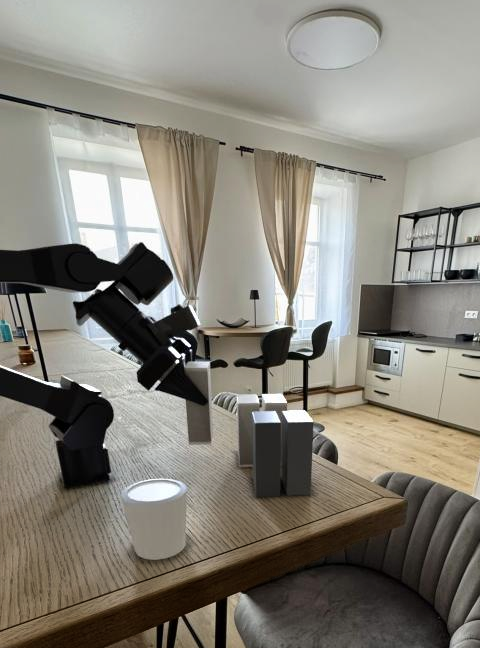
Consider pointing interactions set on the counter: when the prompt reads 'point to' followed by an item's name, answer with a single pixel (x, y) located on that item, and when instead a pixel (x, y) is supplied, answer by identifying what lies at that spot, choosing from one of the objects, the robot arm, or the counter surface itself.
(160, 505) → the white cup
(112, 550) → the counter surface
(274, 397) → the white book
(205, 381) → the tall cream square pillar
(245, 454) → the grey tall rectangular block
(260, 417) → the tall grey rectangular block
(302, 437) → the grey book
